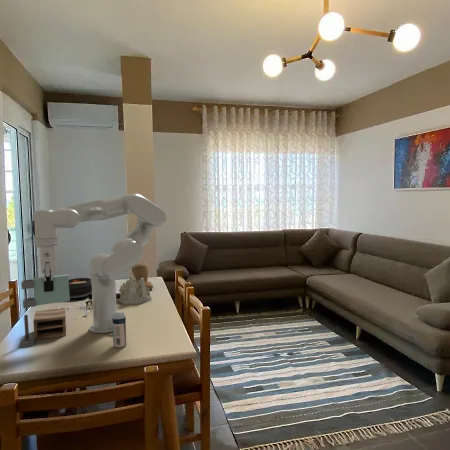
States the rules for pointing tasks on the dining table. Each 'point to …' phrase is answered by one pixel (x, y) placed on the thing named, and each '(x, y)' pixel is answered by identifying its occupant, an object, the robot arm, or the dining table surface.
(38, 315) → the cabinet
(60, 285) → the door
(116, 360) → the dining table surface
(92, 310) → the game piece set
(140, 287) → the grey castle model
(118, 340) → the beer can
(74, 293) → the casserole
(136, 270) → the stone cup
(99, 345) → the dining table surface
